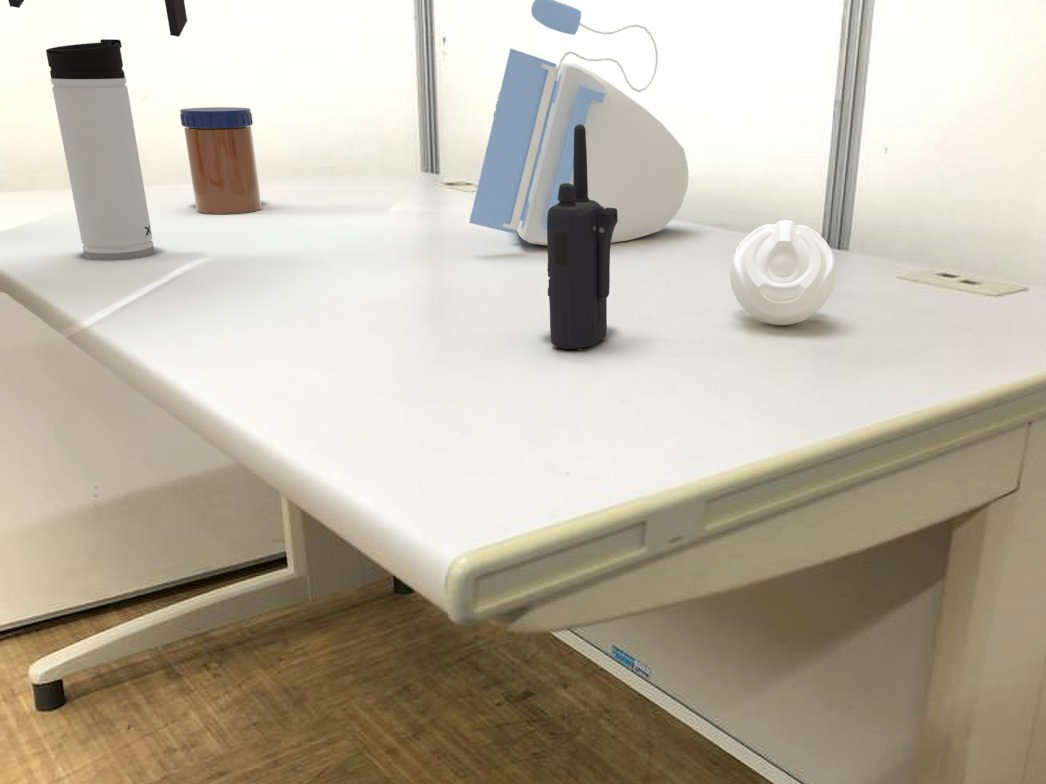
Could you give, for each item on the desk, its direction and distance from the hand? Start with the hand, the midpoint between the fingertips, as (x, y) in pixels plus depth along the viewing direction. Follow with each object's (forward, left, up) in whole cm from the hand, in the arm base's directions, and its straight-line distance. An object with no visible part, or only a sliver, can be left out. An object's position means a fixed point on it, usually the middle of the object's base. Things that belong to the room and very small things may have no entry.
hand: (100, 14), depth 96 cm
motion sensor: (+59, -26, -22) cm, 68 cm away
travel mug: (-2, 0, -22) cm, 22 cm away
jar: (-2, +33, -22) cm, 40 cm away
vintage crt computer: (+42, +13, -22) cm, 49 cm away
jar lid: (-2, +33, -10) cm, 35 cm away
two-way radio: (+44, -32, -22) cm, 59 cm away
